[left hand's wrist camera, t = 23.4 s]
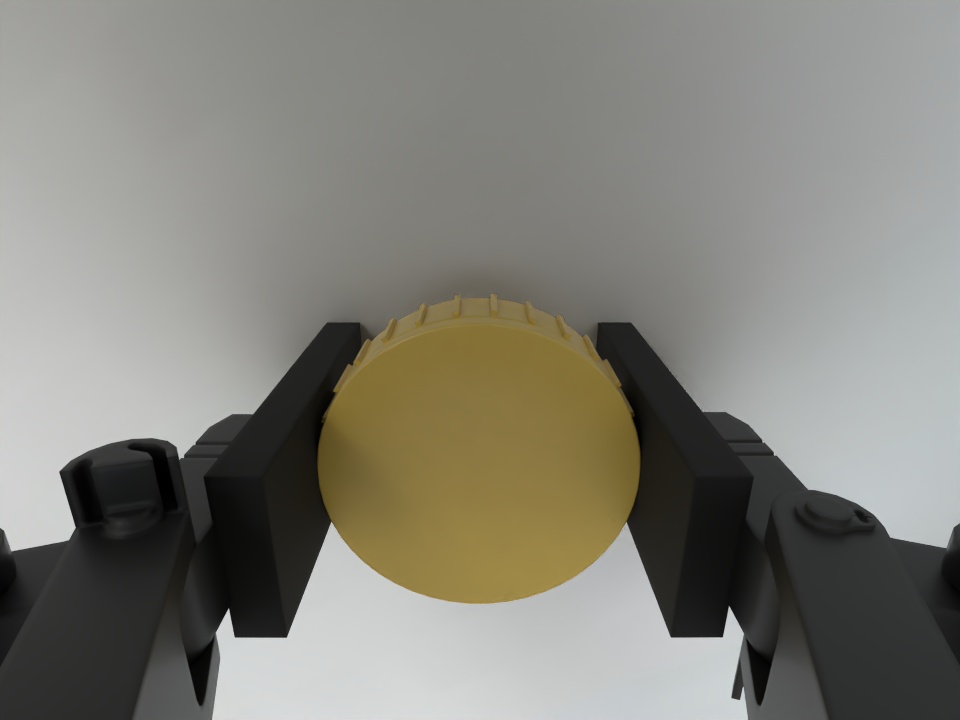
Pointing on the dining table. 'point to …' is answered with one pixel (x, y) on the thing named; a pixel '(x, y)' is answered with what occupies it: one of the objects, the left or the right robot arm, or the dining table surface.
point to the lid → (478, 452)
